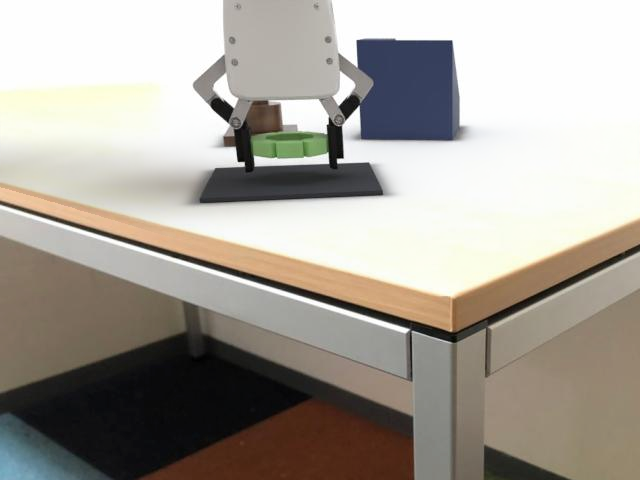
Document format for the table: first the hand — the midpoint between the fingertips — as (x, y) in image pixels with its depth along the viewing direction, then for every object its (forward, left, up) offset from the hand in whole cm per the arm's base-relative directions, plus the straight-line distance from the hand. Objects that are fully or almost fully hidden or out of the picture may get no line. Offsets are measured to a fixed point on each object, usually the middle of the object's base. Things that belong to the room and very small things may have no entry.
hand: (292, 167), depth 72 cm
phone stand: (+16, +30, -2) cm, 34 cm away
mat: (0, 0, -2) cm, 2 cm away
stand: (-4, +28, -2) cm, 28 cm away
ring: (0, 0, +1) cm, 1 cm away
